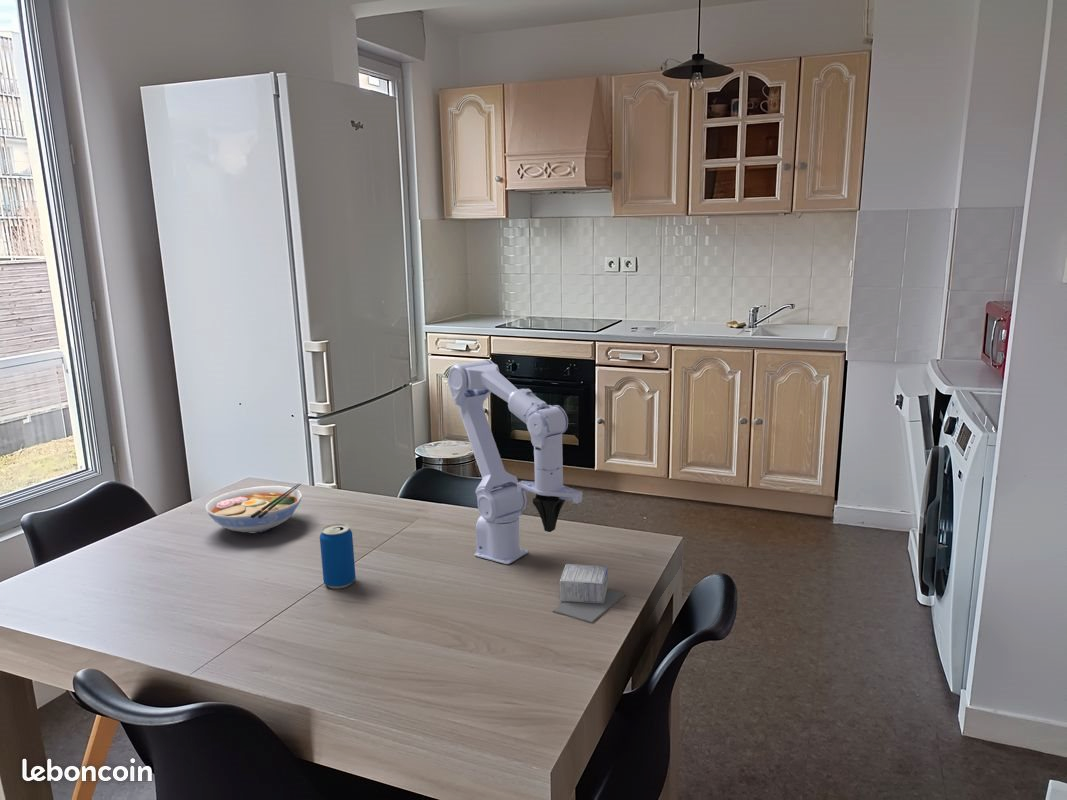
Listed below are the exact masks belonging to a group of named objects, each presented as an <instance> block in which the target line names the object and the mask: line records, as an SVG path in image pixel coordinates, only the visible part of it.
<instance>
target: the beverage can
mask: <svg viewBox="0 0 1067 800" xmlns="http://www.w3.org/2000/svg"><path fill="white" fill-rule="evenodd" d="M320 531H321V533H320V535H319V542H320V545H319V546H320V554H321V555H320V557H321V569H322V578H323V579H322V581H323V584H324V585H325V586H327V587H328V588H330V589H336V590H338V589H343V588H346V587H349V586H350V585H352V584H353V582H355V581H356V577H357V576H356V566H355V563H356V562H355V552H354V541H353V540H354V539H353V531H352V530H351V529H350V525H348V524H346V523H334V524H330V525H326V526H324V527H322V529H321V530H320Z"/></svg>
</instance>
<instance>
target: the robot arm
mask: <svg viewBox="0 0 1067 800" xmlns="http://www.w3.org/2000/svg"><path fill="white" fill-rule="evenodd" d="M448 372H449V373H448V377H447V380H446V381H447V386H448V387H449V391H450V393H451V395H452V399H453V402H454V404H455V405H456V406H457V410H458V412H459V415H460V417H461V420H462V424H463V426H464V430H465V431H466V435H467V438H468V441H469V443H470V446H471V449H472V453H473V455H474V458H475V461H476V464H477V467H478V471H479V472H480V473H479V474H480V475H481V478H482V479H481V481H480V483H479V484H478V486H477V487H476V488H475V490H474V491H475V495H476V499H477V509H478V512H479V514H480V516H479V517H478V519H477V522H476V524H475V547H476V550H475V551H476V552H475V553H474V557H478V558H482V559H484V560H485V559H486V560H489V561H492V562H497V563H499V564H500V563H501V564H503V565H510V564H511V563H513V562H515V561H516V560H518V559H520V558H521V557H523V556H525V555H526V554H528V553H529V550H528V549H526V548H525V549H524V548H521V539H520V517H522V511H524V510H525V509H526V508H527V507H526V506H527V503H528V502H527V494H526V493H528V494H534V495H535V497H534V498H532V504H533V506H535V508H536V510H537V512H538V514H539V516H540V518H541V523H542V525H543V530H544V532H547V533H552V532H553V531H554V530H556V527H557V526H556V525H557V521H558V518H559V515H560V512H561V510H562V508H563V505H564V504H565V502H566V501H567V502H568V501H569V502H572V503H573V504H579V503H581V502H583V491H580V490H577V489H574V488H571V487H569V486H566V485H564V475H563V474H564V473H563V471H564V468H563V467H564V466H563V463H564V462H563V461H564V459H563V434H564V433H565V432H566V431H567V430H568V428H569V427H568V425H569V418H568V415H567V413H566V411H565V410H564V408H563V407H562V406H560V405H557V404H555V405H554V404H553V405H551V404H547V402H546V401H544V400H542V399H541V398H539V397H537V396H536V395H535V394H534V393H533V391H532V390H531V389H530V388H519V389H518V388H517V386H515V385H514V384H513V383H512V382H510V380H508V379H507V378H506V377H505V376H504V375H503V374H501V373H500V369H499V366H498V364H496V363H494V362H493V361H492V360H491V359H483V360H480V361H479V360H477V361H470V362H466V363H461V364H460V363H454V364H452V365H451V366H450V369H449V371H448ZM491 393H492V394H494V395H496V396H497V397H498V398H500V399H502V401H504V402H506V403H507V407H508V410H509V412H511V413H512V415H514V416H515V417H516V418H518V419H519V420H520V421H522V422H523V423H524V424H525V425H526V428H527V431H528V433H529V435H530V443H531V444H532V446H533V457H534V458H533V459H534V461H533V462H534V467H533V468H534V469H533V470H534V481H528V480H520V481H519V480H518V478H517V476H516V475H514V474H511V473H509V472H507V471H506V469H505V466H504V464H503V463H504V462H503V461H502V457H501V454H500V452H499V449H498V447H497V443H496V441H495V439H494V436H493V432H492V430H491V427H490V422H489V421H488V418H487V415H486V412H485V410H484V403H485V401H486V400H487V399H488V398H489V396H490V395H491ZM497 488H498V489H497Z"/></svg>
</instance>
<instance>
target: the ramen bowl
mask: <svg viewBox="0 0 1067 800" xmlns="http://www.w3.org/2000/svg"><path fill="white" fill-rule="evenodd" d="M301 485H302V483H297V484H296V485H295V486H293V487H291V486H283V485H282V486H281V485H260V486H253V487H245V488H240V489H236V490H232V491H228V492H226V493H222V494H220V495H218V496H216V497H213V498H211V499H210V500H209V501H208V502H207V503H206V504H205V505H204V506H205V511H206V513H207V515H208V516H209V517H210V518H211V519H212V520H213V521H214V522H215V523H216V524H218V525H219V526H222V528H225V529H228V530H230V531H233V532H242V533H245V532H260V533H262V532H261V531H264V532H266V531H265V530H267V531H269V530H271V529H273V528H274V527H277V526H279V525H281V524H283V523H285V522H286V521H287V520H288V519H289V518H291V516H292V515H293V514H294V512H295V511H296V509H297V508H298V506H299V505H300V504H301V503H300V502H301V501H302V498H303V494H302V492H301V489H300V490H299V489H298V488H299V487H300V486H301ZM270 528H271V529H270ZM268 529H269V530H268Z"/></svg>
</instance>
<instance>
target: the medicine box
mask: <svg viewBox="0 0 1067 800" xmlns="http://www.w3.org/2000/svg"><path fill="white" fill-rule="evenodd" d="M608 586H609V569H608V566H604V565H589V564H575V563H574V564H573V563H566V564H565V565H564V568H563V570H562V573H561V577H560V580H559V600H560V602H565V601H568V602H584V603H602V604H603V603H604V600H605V597H606V592H607V589H608Z"/></svg>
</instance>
